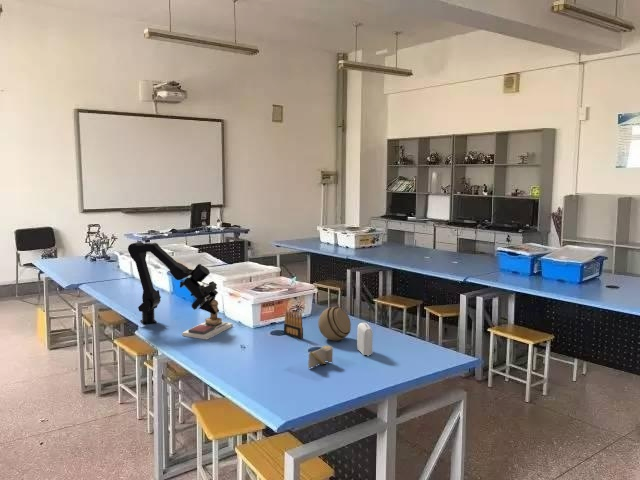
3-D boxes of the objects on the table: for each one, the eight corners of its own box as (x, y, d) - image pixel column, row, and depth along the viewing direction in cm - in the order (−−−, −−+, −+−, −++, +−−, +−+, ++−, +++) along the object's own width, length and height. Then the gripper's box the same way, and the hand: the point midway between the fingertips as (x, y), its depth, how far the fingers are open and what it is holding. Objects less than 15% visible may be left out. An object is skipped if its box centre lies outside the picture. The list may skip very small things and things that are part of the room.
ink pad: (203, 334, 244) (203, 332, 243) (188, 332, 246) (188, 329, 246) (214, 329, 252) (214, 326, 252) (199, 327, 255) (199, 324, 255)
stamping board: (207, 339, 242) (207, 335, 242) (182, 335, 246) (182, 332, 246) (232, 326, 262) (232, 322, 262) (209, 322, 267) (209, 319, 267)
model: (332, 364, 215) (332, 346, 214) (315, 372, 207) (315, 352, 206) (325, 362, 217) (326, 344, 216) (308, 370, 209) (308, 351, 208)
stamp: (215, 326, 256) (216, 302, 254) (205, 324, 258) (206, 300, 256) (221, 323, 261) (222, 299, 259) (211, 321, 263) (212, 297, 261)
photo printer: (355, 348, 233) (356, 320, 231) (365, 348, 234) (366, 320, 233) (363, 357, 223) (364, 327, 222) (373, 356, 224) (374, 327, 223)
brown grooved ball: (323, 346, 236) (323, 312, 234) (314, 335, 250) (314, 303, 248) (356, 343, 240) (357, 310, 238) (345, 333, 254) (346, 302, 252)
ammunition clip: (283, 334, 252) (283, 308, 250) (286, 333, 253) (286, 308, 251) (300, 339, 244) (300, 313, 243) (303, 338, 246) (303, 312, 244)
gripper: (197, 281, 248) (220, 306, 247) (214, 273, 266) (235, 297, 265) (181, 296, 250) (204, 322, 250) (199, 288, 268) (220, 311, 268)
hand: (217, 312), depth 258 cm, fingers closed on stamp, 3 cm apart
